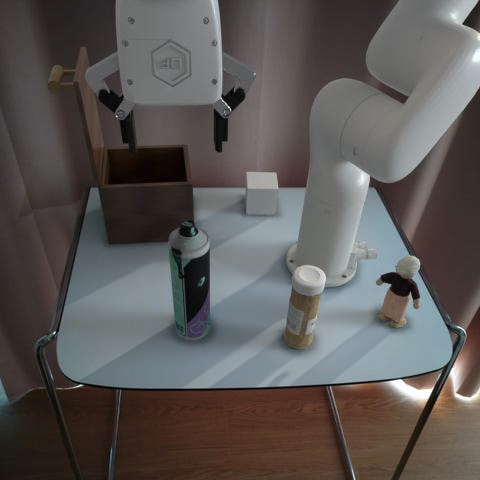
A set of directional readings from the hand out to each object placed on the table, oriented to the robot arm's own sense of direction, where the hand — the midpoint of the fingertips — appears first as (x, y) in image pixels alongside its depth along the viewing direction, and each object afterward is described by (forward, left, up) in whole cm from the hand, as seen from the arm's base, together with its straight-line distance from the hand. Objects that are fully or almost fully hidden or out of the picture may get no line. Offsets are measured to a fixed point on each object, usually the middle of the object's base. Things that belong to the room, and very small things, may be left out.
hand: (176, 147), depth 57 cm
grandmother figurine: (-33, +2, -30) cm, 45 cm away
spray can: (-1, +1, -30) cm, 30 cm away
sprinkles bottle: (-17, +5, -30) cm, 35 cm away
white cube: (-17, -31, -30) cm, 46 cm away
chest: (+5, -28, -30) cm, 41 cm away
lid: (+13, -28, -9) cm, 32 cm away
